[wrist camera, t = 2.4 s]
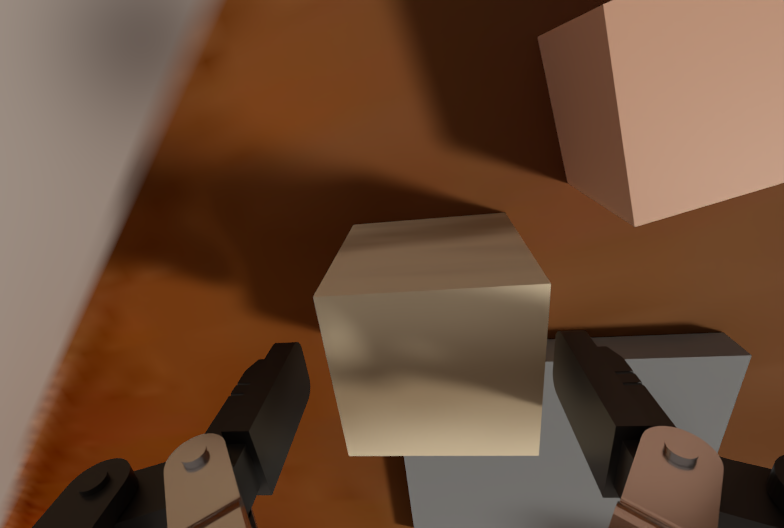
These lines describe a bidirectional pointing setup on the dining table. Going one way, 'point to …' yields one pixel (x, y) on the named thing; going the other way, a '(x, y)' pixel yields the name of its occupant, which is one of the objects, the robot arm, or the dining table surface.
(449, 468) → the slate tile
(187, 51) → the dining table surface
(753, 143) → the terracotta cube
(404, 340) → the birch cube
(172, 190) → the dining table surface
